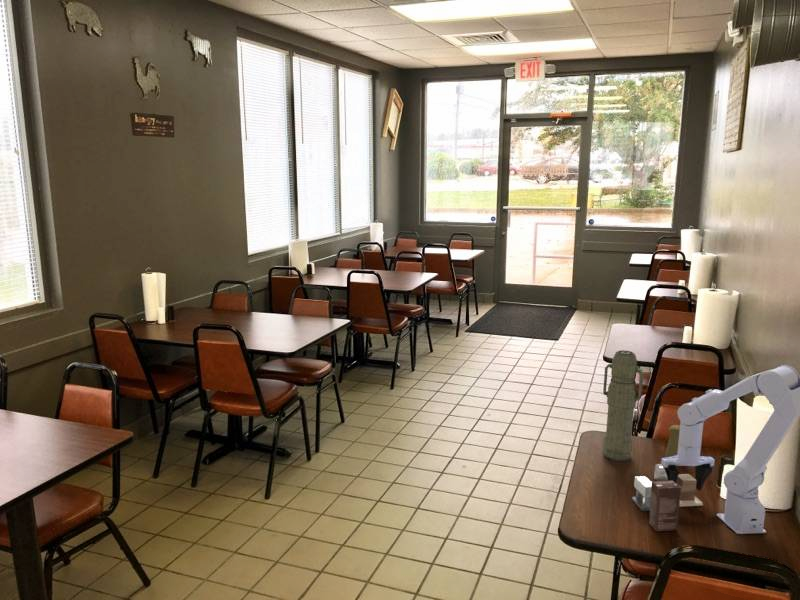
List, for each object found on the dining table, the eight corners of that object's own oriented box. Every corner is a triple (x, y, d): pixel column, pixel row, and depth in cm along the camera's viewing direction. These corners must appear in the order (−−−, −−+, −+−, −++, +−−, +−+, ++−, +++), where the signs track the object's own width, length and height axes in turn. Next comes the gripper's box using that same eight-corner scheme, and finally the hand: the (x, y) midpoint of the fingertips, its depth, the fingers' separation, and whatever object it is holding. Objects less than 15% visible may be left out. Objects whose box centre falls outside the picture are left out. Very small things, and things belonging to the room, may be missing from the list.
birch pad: (702, 505, 178) (702, 503, 178) (678, 506, 177) (678, 503, 177) (689, 493, 185) (689, 491, 185) (665, 494, 184) (666, 491, 184)
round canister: (670, 482, 192) (672, 469, 191) (658, 482, 192) (659, 469, 191) (664, 476, 196) (665, 463, 195) (651, 476, 196) (652, 464, 195)
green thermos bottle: (635, 463, 204) (645, 357, 198) (597, 457, 208) (605, 353, 202) (636, 453, 212) (646, 351, 206) (599, 447, 216) (607, 347, 210)
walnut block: (694, 500, 179) (696, 480, 178) (680, 500, 179) (683, 480, 178) (686, 493, 183) (688, 473, 182) (673, 493, 183) (675, 474, 182)
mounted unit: (655, 510, 175) (657, 486, 174) (642, 511, 175) (644, 487, 173) (644, 499, 181) (646, 476, 180) (631, 499, 181) (633, 476, 180)
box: (668, 522, 169) (673, 479, 167) (677, 531, 165) (682, 487, 162) (647, 522, 168) (651, 480, 166) (655, 532, 164) (659, 488, 162)
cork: (660, 456, 210) (663, 424, 208) (674, 453, 213) (677, 421, 211) (675, 463, 205) (679, 431, 203) (689, 460, 207) (692, 428, 205)
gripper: (706, 437, 183) (701, 482, 185) (657, 438, 181) (653, 483, 184) (720, 447, 176) (715, 493, 178) (670, 449, 174) (665, 495, 177)
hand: (685, 489), depth 180 cm, fingers open, 7 cm apart
